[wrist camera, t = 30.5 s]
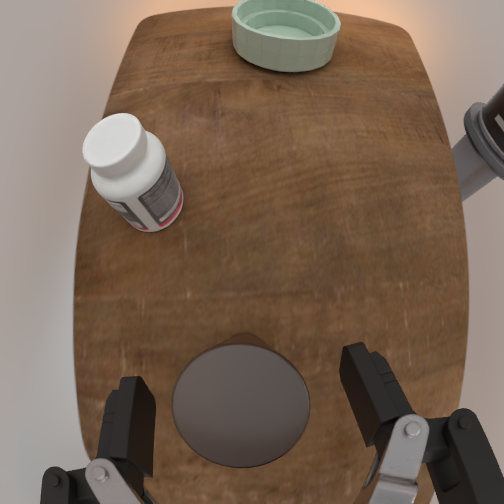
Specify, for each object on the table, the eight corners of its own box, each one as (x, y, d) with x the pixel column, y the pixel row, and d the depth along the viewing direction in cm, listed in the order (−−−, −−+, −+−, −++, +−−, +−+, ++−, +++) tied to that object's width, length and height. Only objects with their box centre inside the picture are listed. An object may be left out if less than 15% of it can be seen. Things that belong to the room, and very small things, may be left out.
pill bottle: (176, 168, 25) (147, 93, 16) (191, 221, 24) (160, 156, 15) (121, 188, 25) (72, 125, 15) (131, 242, 24) (73, 192, 14)
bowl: (323, 29, 32) (330, -1, 26) (339, 81, 29) (350, 46, 23) (235, 23, 32) (234, -8, 26) (230, 75, 29) (228, 37, 23)
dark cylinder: (266, 333, 22) (312, 342, 6) (266, 374, 21) (307, 466, 6) (224, 332, 22) (170, 339, 6) (223, 374, 21) (173, 464, 6)
